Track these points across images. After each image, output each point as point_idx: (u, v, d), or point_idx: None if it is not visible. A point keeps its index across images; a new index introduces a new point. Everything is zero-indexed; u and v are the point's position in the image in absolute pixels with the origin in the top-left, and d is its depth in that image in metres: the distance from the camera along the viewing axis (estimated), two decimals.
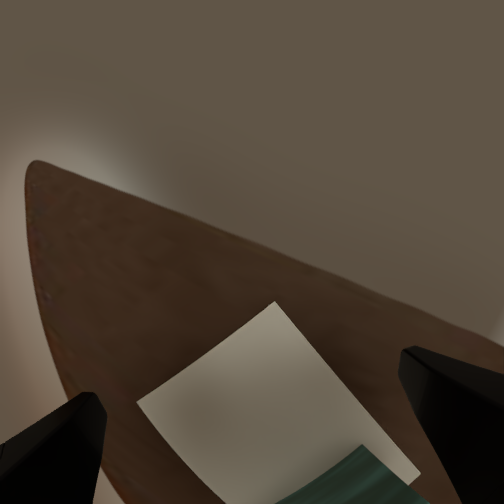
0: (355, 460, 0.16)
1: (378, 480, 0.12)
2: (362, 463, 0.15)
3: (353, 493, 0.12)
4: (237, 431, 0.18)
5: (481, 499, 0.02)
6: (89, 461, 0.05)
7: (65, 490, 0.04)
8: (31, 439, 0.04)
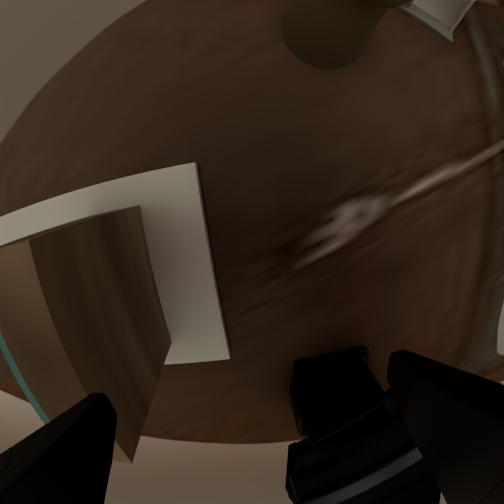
0: None
1: None
2: None
3: None
4: None
5: None
6: (100, 463, 0.05)
7: (76, 494, 0.04)
8: (41, 443, 0.04)
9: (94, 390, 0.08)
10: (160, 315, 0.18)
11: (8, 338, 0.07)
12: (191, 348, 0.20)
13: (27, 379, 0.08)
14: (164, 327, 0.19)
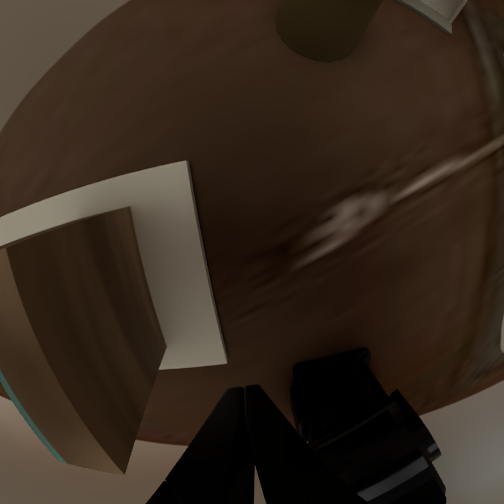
0: None
1: None
2: None
3: None
4: None
5: None
6: (251, 468, 0.05)
7: None
8: (202, 463, 0.04)
9: (81, 402, 0.08)
10: (154, 319, 0.17)
11: None
12: (187, 353, 0.19)
13: (15, 390, 0.07)
14: (158, 331, 0.18)
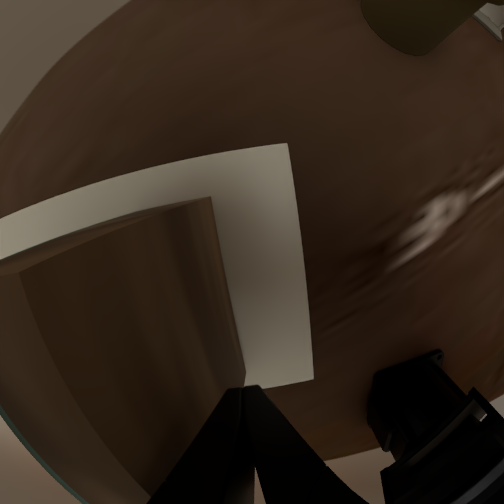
0: None
1: None
2: None
3: None
4: None
5: None
6: (252, 468, 0.05)
7: None
8: (202, 463, 0.04)
9: None
10: (236, 342, 0.14)
11: (18, 423, 0.04)
12: (270, 372, 0.16)
13: (58, 472, 0.04)
14: (240, 356, 0.14)
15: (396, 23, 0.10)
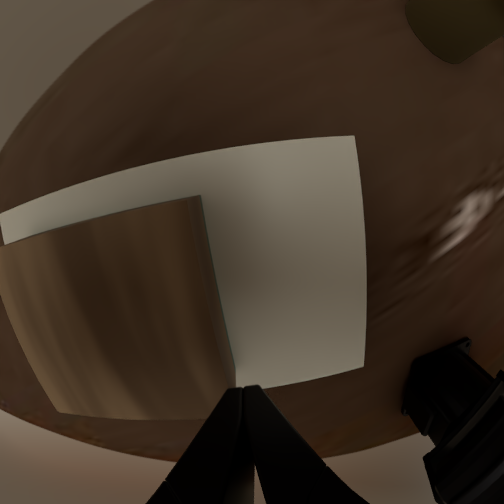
0: None
1: None
2: None
3: None
4: None
5: None
6: (251, 468, 0.05)
7: None
8: (202, 463, 0.04)
9: (31, 355, 0.11)
10: (209, 378, 0.11)
11: None
12: (325, 361, 0.16)
13: None
14: (217, 394, 0.11)
15: (440, 33, 0.10)
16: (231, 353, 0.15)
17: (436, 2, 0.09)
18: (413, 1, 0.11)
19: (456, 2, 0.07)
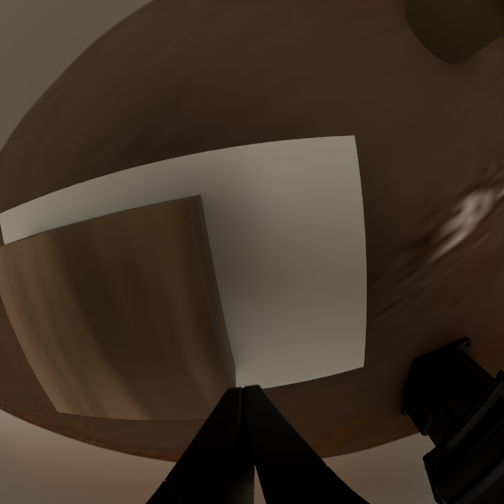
0: None
1: None
2: None
3: None
4: None
5: None
6: (251, 468, 0.05)
7: None
8: (202, 463, 0.04)
9: (31, 355, 0.11)
10: (209, 378, 0.11)
11: None
12: (325, 361, 0.16)
13: None
14: (217, 394, 0.11)
15: (440, 33, 0.10)
16: (231, 353, 0.15)
17: (436, 2, 0.09)
18: (413, 1, 0.11)
19: (456, 2, 0.07)
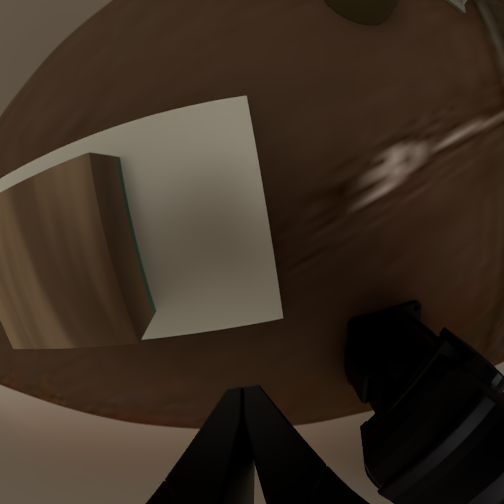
0: None
1: None
2: None
3: None
4: None
5: None
6: (251, 468, 0.05)
7: None
8: (202, 463, 0.04)
9: None
10: (111, 301, 0.13)
11: None
12: (239, 308, 0.18)
13: None
14: (119, 318, 0.13)
15: None
16: (149, 294, 0.17)
17: None
18: None
19: None
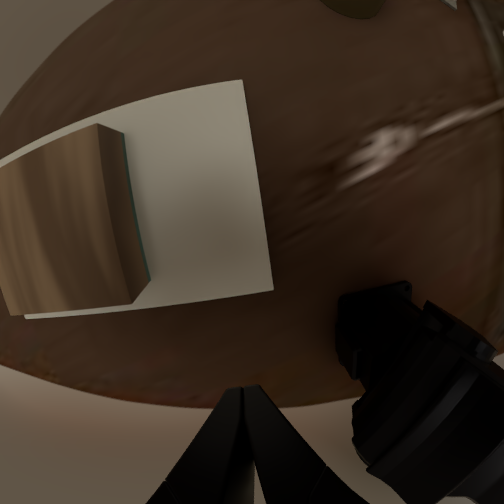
0: None
1: None
2: None
3: None
4: None
5: None
6: (251, 468, 0.05)
7: None
8: (202, 463, 0.04)
9: None
10: (108, 261, 0.14)
11: None
12: (231, 278, 0.19)
13: None
14: (114, 278, 0.14)
15: None
16: (145, 262, 0.18)
17: None
18: None
19: None
